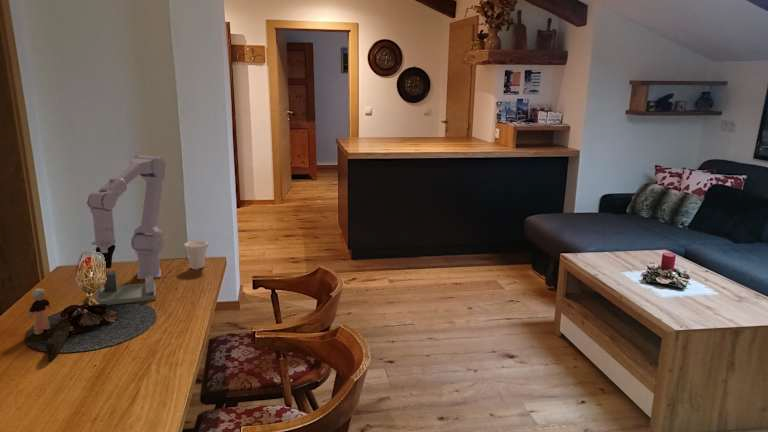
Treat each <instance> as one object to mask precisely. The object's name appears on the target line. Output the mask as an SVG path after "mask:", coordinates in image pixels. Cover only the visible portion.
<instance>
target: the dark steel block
mask: <svg viewBox="0 0 768 432" xmlns="http://www.w3.org/2000/svg"><path fill="white" fill-rule="evenodd" d="M106 276H107V280H106V283H105V284H104V283H103V287H104V288H105V293H106V292H116V291H117V286H118V281H117V271H116V270H108V271H106Z"/></svg>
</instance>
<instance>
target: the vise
mask: <svg viewBox="0 0 768 432" xmlns="http://www.w3.org/2000/svg"><path fill="white" fill-rule="evenodd" d="M101 287H102V288H101V289H100V290H98V291H96V292H95V294H94V299H95V300H96V301H97V302H98V303H101V304H106V305H105V306H108V305H117V304H118V305H119V304H128V303H129V304H130V303H137V302H146V301H147V302H148V301H155V300H157V293H156V291H157V289H156V288H157V287H156V282H155V281H154V293H150V294H146V290H145V282H144V283H143V282H142V283H133V284H123V285H117V291H116V292H106V293H105V288H104V286H101ZM87 303H88V301H86V304H87Z"/></svg>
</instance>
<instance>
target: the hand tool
mask: <svg viewBox="0 0 768 432" xmlns="http://www.w3.org/2000/svg"><path fill="white" fill-rule="evenodd" d="M68 320H69V319H62V320H59V321H58V322H57V325H56V326H57V327H56V328H55V329H54V330H53V334H52V335H51V337H49V338H48V339H47V341H46V345H45V346H46V347H45V348H46V355H47V359H48V361H49V362H52V361H53V360H54V359H55V358H57V356H58V355H59V354H60V353H61V349H62V346H63V345H64V344H65V342H66V339H67V338H68V337H69V336H70V335H69V334H70V333H69V329H70V323H69V322H68Z"/></svg>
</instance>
